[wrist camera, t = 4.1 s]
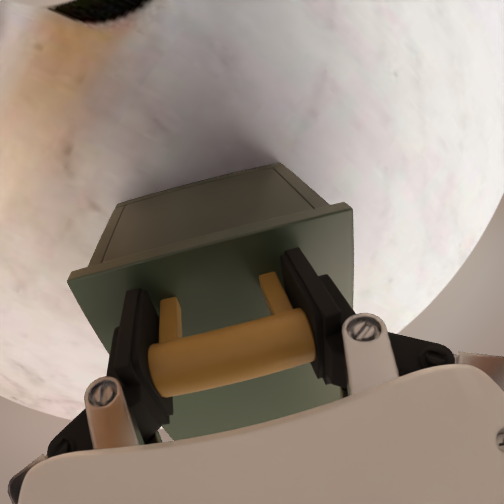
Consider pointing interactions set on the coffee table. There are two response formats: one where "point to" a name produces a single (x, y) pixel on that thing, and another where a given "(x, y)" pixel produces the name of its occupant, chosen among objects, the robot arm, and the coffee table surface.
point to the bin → (203, 210)
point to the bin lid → (228, 318)
